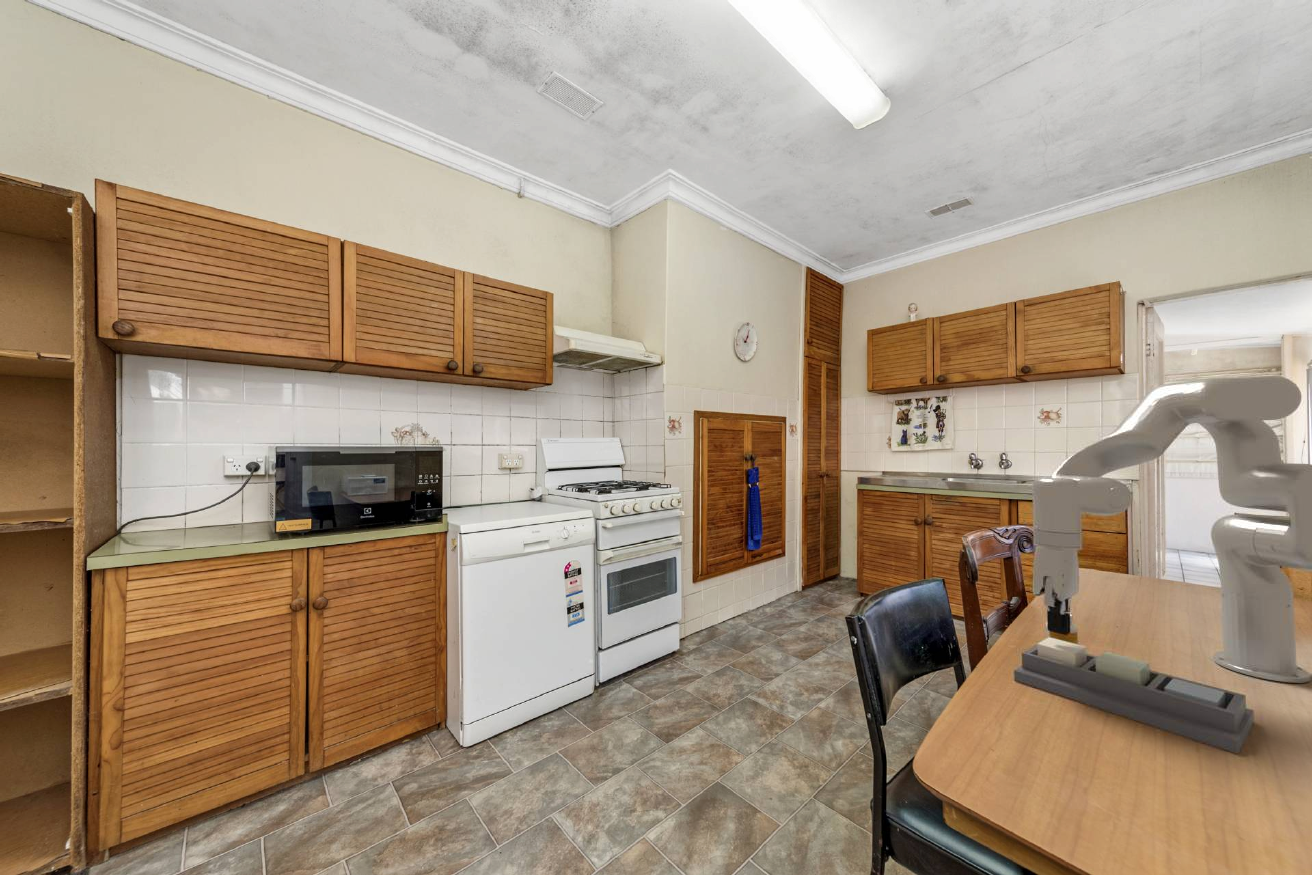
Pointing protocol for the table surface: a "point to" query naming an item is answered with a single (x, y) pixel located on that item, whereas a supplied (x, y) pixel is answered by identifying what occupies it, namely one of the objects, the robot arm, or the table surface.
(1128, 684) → the grey compartment tray
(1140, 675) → the sage key
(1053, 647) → the cream key
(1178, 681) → the blue key
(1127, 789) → the table surface
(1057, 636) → the supplement bottle
